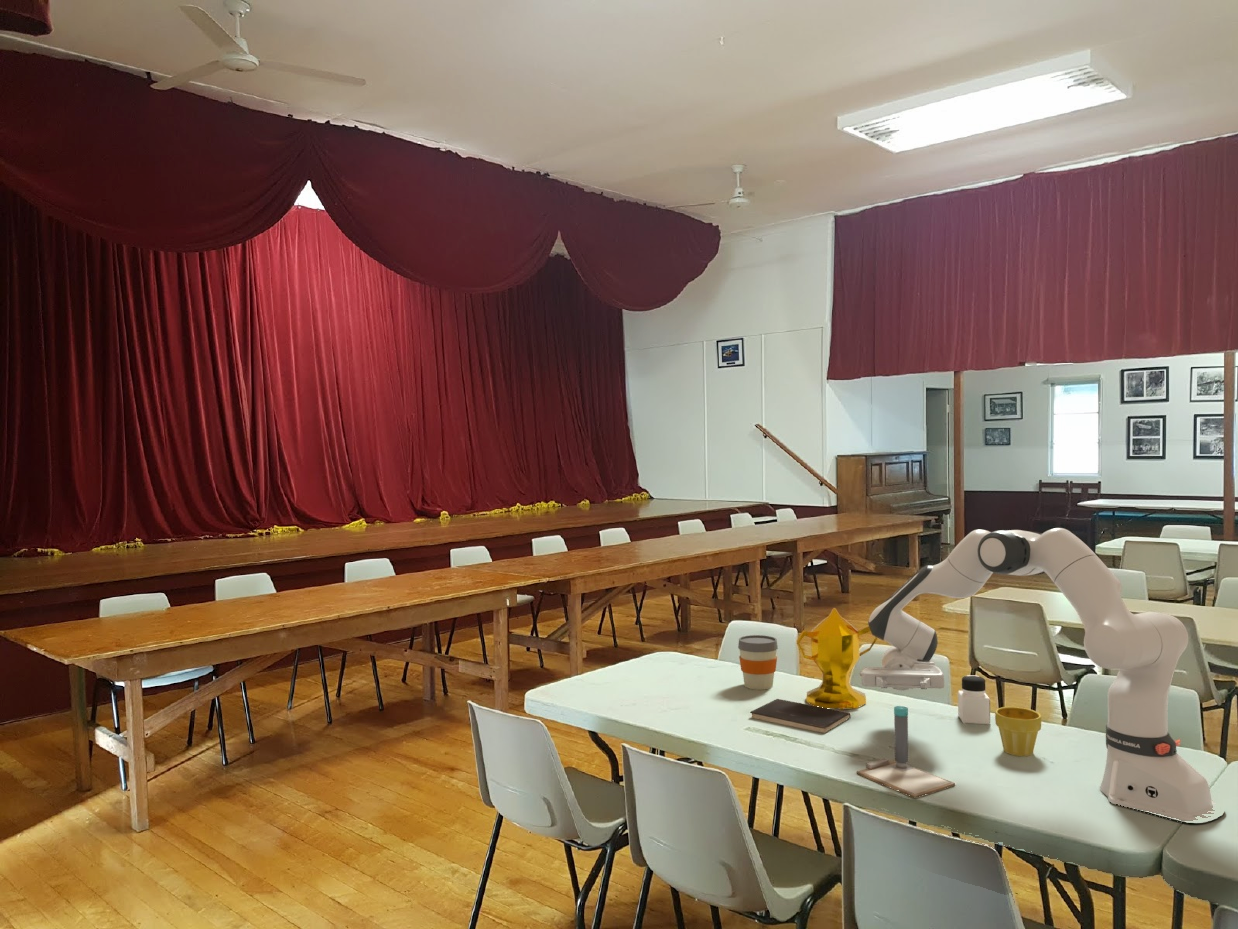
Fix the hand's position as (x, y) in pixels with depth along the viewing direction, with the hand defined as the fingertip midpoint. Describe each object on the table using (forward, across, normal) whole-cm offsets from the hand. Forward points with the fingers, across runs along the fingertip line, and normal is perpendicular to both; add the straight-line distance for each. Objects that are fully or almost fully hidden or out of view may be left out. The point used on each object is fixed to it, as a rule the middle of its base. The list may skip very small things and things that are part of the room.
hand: (903, 685), depth 214 cm
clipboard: (+18, -2, +17) cm, 25 cm away
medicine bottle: (-30, +20, +17) cm, 40 cm away
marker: (+12, -2, +16) cm, 20 cm away
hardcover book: (-23, -27, +16) cm, 39 cm away
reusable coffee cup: (-54, -42, +15) cm, 69 cm away
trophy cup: (-40, -17, +16) cm, 46 cm away
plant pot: (-6, +27, +17) cm, 32 cm away
